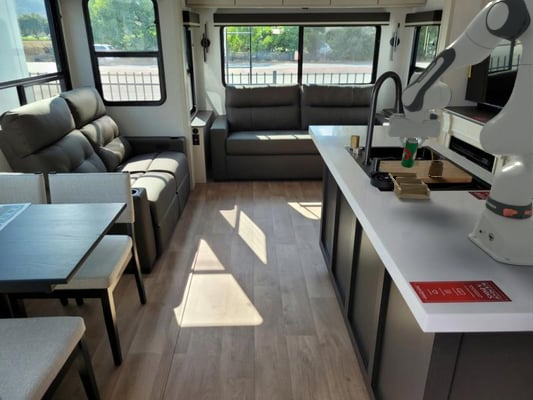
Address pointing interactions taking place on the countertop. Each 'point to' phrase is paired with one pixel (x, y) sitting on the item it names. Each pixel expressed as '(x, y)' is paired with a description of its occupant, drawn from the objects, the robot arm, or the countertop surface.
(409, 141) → the soda can
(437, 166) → the utensil holder
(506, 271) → the countertop surface
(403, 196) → the rack
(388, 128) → the robot arm
